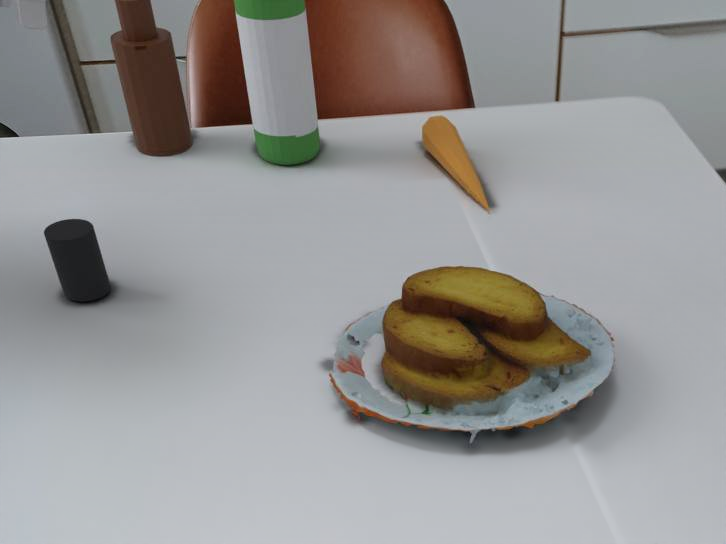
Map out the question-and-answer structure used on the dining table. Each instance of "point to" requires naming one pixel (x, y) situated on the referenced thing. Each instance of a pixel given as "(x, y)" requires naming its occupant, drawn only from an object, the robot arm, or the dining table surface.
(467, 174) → the carrot
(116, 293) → the dining table surface
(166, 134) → the bottle
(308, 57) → the wine bottle
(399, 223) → the dining table surface
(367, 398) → the food on plate
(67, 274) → the cylinder
